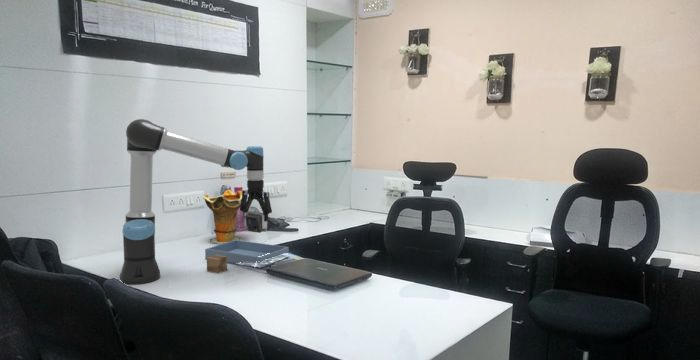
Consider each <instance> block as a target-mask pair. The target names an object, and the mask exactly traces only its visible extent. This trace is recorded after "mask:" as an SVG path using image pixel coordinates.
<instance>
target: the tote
mask: <svg viewBox="0 0 700 360" xmlns="http://www.w3.org/2000/svg"><path fill="white" fill-rule="evenodd" d="M289 249H290V247H289V246H284V245H283V246H281V245H276V244H275V245H274V244H270V243H269V244H268V243H261V242H254V241H248V240H247V241H246V240H242V241H241V240H234V241H230V242H227V243H224V244H216V245H214V246H210V247H207V248H205V249H204V252H205V253H204V254H205V256H204V257H205V258H204V259H205V260H206V261H207V258H208V257H211V256H214V255H221V256H227V264H230V265H235V264H236V263H238V262H243V261H248V262H256V261H257V262H258V261H260V262H261V261H263V260H265V259H269V258H272V257H275V256H278V255H280V254H283V253H290V252H289V251H290V250H289ZM267 253H270V254H267ZM265 254H267V255H265ZM262 255H264V256H262ZM258 256H262V257H258Z"/></svg>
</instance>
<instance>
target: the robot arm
mask: <svg viewBox="0 0 700 360" xmlns="http://www.w3.org/2000/svg"><path fill="white" fill-rule="evenodd" d="M125 136H126V151H127V152H128V154H129V155H130V175H129V176H130V178H129V179H130V180H129V181H130V182H129V183H130V184H129V211H128V212H127V213H126V214H125V223H124V224H123V225H122V236H123V238H122V239H123V240H122V241H123V263H122V267H121V271H120V274H119V281H120V280H121V281H122V282H124V283H123V284H126V285H140V284H146V283H147V284H149V283H152V282H154V281H158V280H159V279H160V278H161V271H160V267H159V265H158V263H157V259H156V249H155V248H156V242H155V241H156V240H155V239H156V238H155V234H156V225H155V224H156V214H155V213H154V212H153V211H152V202H153V201H152V199H153V198H152V197H153V164H154V163H153V162H154V161H153V159H154V155H155V154H156V153H157V152H160V151H161V150H165V151H168V152H170V153H171V152H172V153H175V154H180V155H183V156H187V157H190V158H194V159H197V160H202V161H204V162H209V163H213V164H216V165H219V166H221V167H222V168H230V169H233V170H236V171H241V170H243V169H245V168H246V179H247V181H246V186H247V187H246V188H247V189H245V190H241V191H242V200H241V205H240V208H239V211H241V212H242V214H243V216H242V217H243V220H244V227H247V223H246V219H245V216H246V215H247V214H248V212H249V210H250V208H251V205H252V203H253V201H254V200H255V201H256V202H258V204H259V207H260V209H261V211H262V213H263V215H262V229H264V228H266V229H267V228H268V221H269V214H272V213H273V210H272V206H271V205H272V204H271V201H270V192H269V191H264V187H265V184H264V178H265V177H264V176H265V175H264V156H265V155H264V148H263V147H262V146H260V145H249V146H247V147H246V149H245V150H233V149H230V148H227V147H223V146H220V145H217V144H213V143H210V142H206V141H203V140H199V139H195V138H193V137H188V136H185V135H182V134H178V133H176V132H175V133H174V132H171V131H168V130H167V128H166V127H163V126H160V125H157V124H155V123H153V122H152V121H150V120H148V119H144V118H139V119H135V120H133V121H131V122H129V124H128V125H127V127H126V130H125ZM248 221H249V220H248ZM122 282H121V283H122Z"/></svg>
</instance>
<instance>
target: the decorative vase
mask: <svg viewBox="0 0 700 360" xmlns="http://www.w3.org/2000/svg"><path fill="white" fill-rule="evenodd" d="M242 191H243V190H237V191H236V193H234V192H233V191H232V190H230V189H227V190H225V191H224V193H223V194H221V195H216V196H210V194H209V193H206V194H203V196H202V199H203V200H204V202H205V203H206V207H207V208H208V209H209V210H210V211H212V212H213V213H212V214H213V219H214V220H213V221H214V227H215V228H214V230H213V232H214V233H215V236H216V237H214V238H211V237H210V239H209V240H208V242H209V243H211V244H216V245H220V244H224V243H227V242H230V241H234V240H241V241H243V239H242V238H240V237H235V234H236V231H237V228H236V227H237V215H238V211H239V210H240V205H241V200H242ZM213 232H212V233H211V235H213Z"/></svg>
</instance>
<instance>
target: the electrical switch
mask: <svg viewBox="0 0 700 360" xmlns="http://www.w3.org/2000/svg"><path fill="white" fill-rule="evenodd" d="M262 215H263V212H257V211H249V210H248V214H247V215H246V216H245V219H246V223H247V226H246V227H247V231H248V232H251V233H252V232H253V233H260V234H261V233H263V232H264V233H265V232H267V231H268V229H267V228H264V229H262ZM245 219H244V220H245ZM248 220H249V221H248Z"/></svg>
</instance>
